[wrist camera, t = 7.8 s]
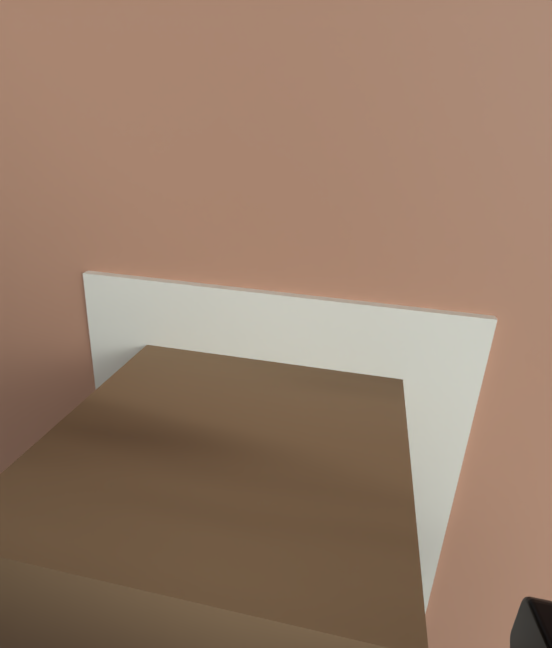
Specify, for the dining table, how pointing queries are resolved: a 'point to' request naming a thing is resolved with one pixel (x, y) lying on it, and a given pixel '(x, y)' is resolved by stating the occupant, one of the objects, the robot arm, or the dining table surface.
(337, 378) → the walnut block
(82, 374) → the baseplate
